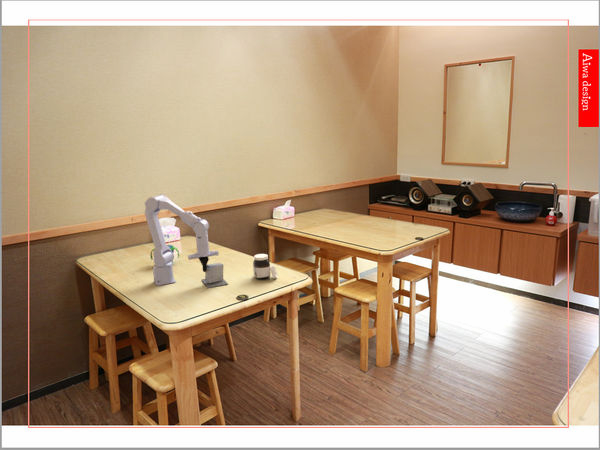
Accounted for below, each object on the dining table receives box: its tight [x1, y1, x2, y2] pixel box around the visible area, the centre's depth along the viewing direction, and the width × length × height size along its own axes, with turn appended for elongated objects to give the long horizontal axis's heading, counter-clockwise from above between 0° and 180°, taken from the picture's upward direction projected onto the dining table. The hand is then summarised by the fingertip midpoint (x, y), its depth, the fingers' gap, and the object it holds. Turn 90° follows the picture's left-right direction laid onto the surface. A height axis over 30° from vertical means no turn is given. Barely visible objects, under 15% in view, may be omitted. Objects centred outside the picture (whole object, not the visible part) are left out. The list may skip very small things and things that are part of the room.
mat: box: [200, 278, 229, 289], centre depth 222 cm, size 10×13×1 cm
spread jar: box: [252, 253, 279, 281], centre depth 225 cm, size 12×11×12 cm
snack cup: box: [150, 244, 180, 264], centre depth 252 cm, size 16×10×10 cm
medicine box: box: [204, 262, 224, 283], centre depth 220 cm, size 8×4×9 cm, turn 134°
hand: (204, 271), depth 218 cm, fingers closed, pressing on medicine box
